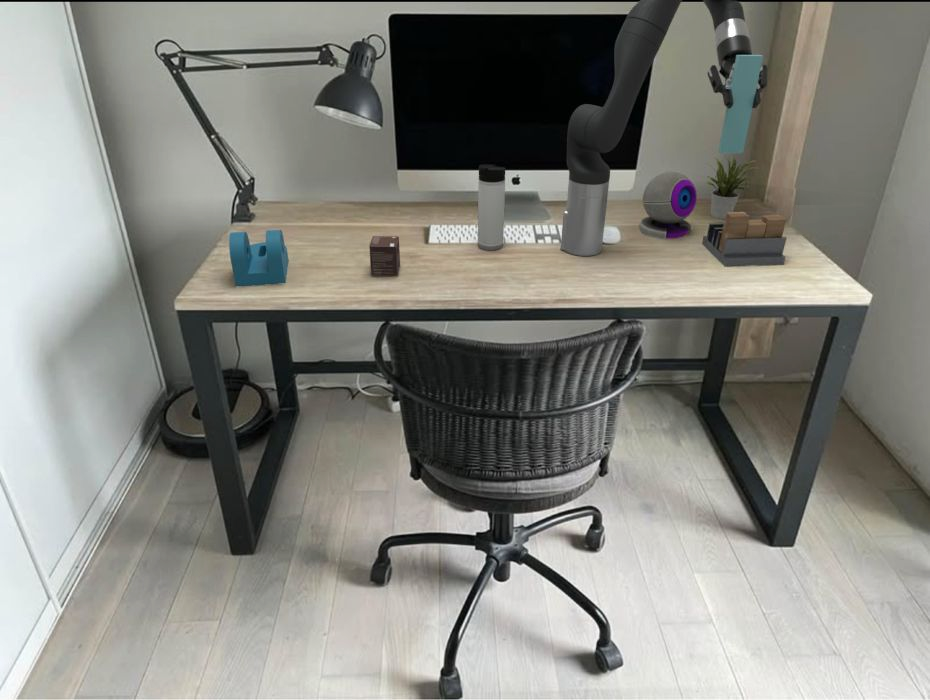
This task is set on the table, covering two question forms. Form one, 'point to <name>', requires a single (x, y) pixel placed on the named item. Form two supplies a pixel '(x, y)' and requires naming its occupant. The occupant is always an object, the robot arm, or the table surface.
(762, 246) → the rack
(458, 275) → the table surface
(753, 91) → the tall sheet
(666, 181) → the webcam
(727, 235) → the offcut stack
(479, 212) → the travel mug
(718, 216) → the house plant
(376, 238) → the box
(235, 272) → the camera mount
